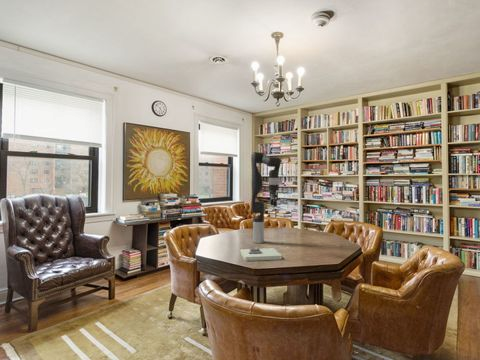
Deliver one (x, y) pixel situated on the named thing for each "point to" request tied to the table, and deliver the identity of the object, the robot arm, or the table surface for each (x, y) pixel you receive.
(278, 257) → the chassis board
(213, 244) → the table surface
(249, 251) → the servo block
